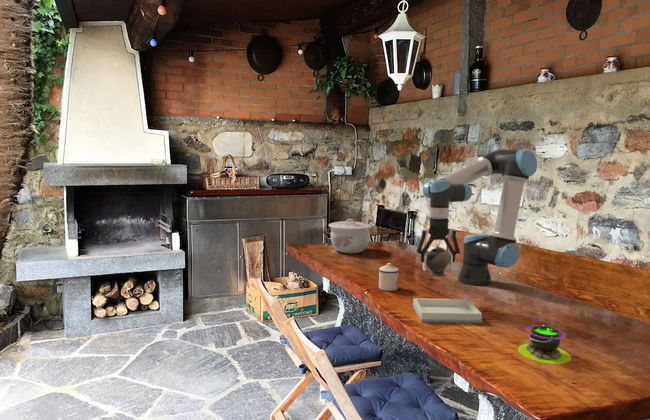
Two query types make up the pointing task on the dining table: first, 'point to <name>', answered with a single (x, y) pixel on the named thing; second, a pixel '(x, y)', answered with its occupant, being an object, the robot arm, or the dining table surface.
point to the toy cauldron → (544, 345)
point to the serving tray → (447, 310)
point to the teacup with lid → (388, 277)
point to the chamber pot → (350, 236)
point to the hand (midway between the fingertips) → (437, 269)
